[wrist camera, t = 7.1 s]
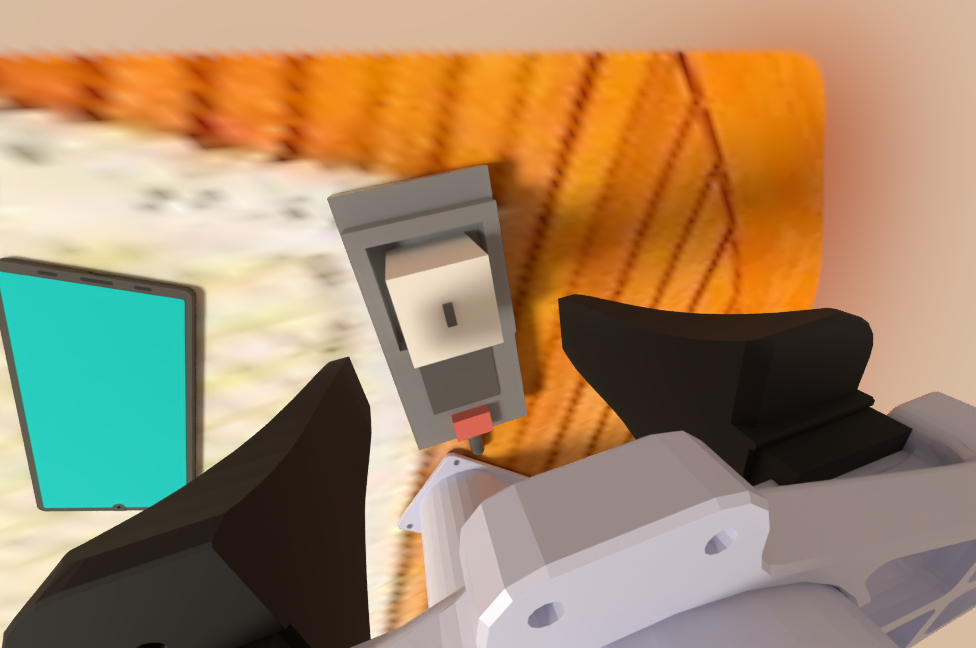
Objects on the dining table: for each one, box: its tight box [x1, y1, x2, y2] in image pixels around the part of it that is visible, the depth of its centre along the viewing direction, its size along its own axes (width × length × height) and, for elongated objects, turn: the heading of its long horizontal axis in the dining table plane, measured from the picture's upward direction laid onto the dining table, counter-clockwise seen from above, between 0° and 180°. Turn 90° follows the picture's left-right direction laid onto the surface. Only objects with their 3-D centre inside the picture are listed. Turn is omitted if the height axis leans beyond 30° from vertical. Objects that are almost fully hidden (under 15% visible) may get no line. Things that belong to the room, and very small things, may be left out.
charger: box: [385, 232, 504, 369], centre depth 16 cm, size 4×4×5 cm
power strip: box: [327, 164, 527, 455], centre depth 21 cm, size 20×8×4 cm, turn 11°
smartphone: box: [0, 258, 196, 511], centre depth 19 cm, size 7×1×15 cm
